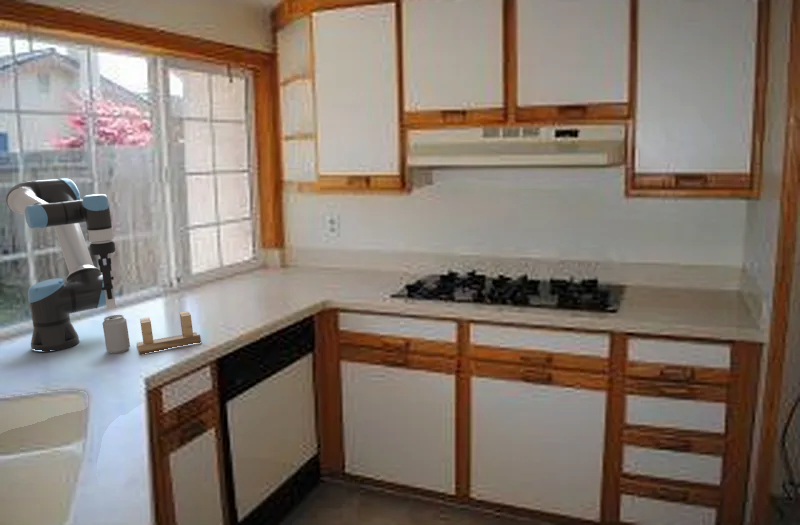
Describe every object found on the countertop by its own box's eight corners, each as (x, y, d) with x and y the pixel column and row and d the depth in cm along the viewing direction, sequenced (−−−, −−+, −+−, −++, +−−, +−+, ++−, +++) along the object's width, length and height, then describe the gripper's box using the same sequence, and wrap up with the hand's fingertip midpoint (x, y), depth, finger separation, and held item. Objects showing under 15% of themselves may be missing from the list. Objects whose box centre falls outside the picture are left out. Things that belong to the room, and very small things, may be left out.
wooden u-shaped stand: (137, 345, 225) (133, 317, 223) (196, 334, 233) (192, 308, 231) (139, 355, 214) (135, 326, 212) (201, 343, 222) (198, 315, 220)
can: (122, 345, 226) (117, 312, 223) (135, 348, 221) (130, 315, 219) (102, 352, 220) (97, 318, 217) (114, 355, 215) (109, 321, 213)
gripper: (89, 237, 222) (98, 297, 226) (88, 248, 200) (99, 314, 204) (113, 235, 225) (121, 294, 229) (115, 245, 203) (124, 310, 207)
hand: (111, 303), depth 217 cm, fingers open, 13 cm apart
